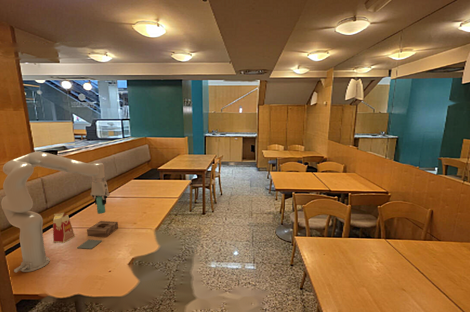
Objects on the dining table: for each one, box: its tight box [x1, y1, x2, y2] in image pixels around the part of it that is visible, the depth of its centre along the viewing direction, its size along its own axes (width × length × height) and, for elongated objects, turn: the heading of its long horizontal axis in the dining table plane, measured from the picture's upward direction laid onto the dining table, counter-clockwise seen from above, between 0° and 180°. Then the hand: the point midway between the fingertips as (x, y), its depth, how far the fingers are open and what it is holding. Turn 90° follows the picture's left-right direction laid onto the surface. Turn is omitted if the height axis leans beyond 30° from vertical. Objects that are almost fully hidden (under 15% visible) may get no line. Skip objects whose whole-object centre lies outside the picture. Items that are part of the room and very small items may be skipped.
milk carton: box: [52, 212, 76, 244], centre depth 152 cm, size 9×9×20 cm
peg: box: [96, 196, 106, 215], centre depth 160 cm, size 5×5×12 cm
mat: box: [76, 239, 103, 250], centre depth 147 cm, size 10×10×1 cm
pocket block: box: [86, 220, 119, 238], centre depth 164 cm, size 14×14×5 cm
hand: (100, 203), depth 160 cm, fingers closed on peg, 5 cm apart
